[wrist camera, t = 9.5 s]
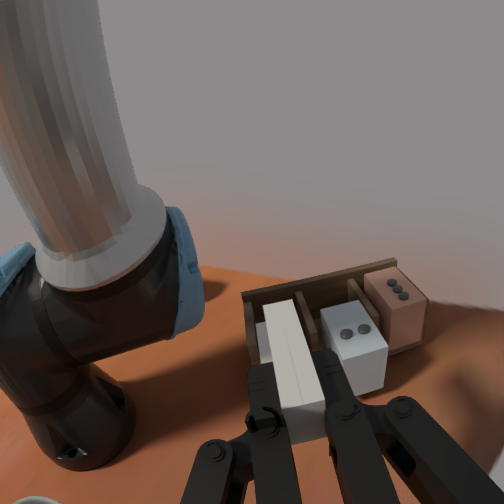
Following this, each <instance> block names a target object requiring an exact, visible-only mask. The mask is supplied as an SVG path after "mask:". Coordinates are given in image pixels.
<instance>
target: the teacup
mask: <svg viewBox="0 0 504 504" xmlns="http://www.w3.org/2000/svg"><path fill="white" fill-rule="evenodd" d="M13 504H61V503H60V502H57V501H55V500H53V499H50V498H46V497H42V496H29V497H24V498H22V499H19V500H17V501H16V502H14V503H13Z"/></svg>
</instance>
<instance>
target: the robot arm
mask: <svg viewBox="0 0 504 504" xmlns="http://www.w3.org/2000/svg"><path fill="white" fill-rule="evenodd" d="M0 165H1V167H2V169H3V171H4V173H5V176H6V178H7V180H8V182H9V184H10V186H11V188H12V190H13V192H14V194H15V196H16V198H17V200H18V202H19V203H20V205H21V207H22V209H23V211H24V213H25V214H26V216H27V218H28V220H29V221H30V223H31V225H32V227H33V228H34V230H35V232H36V233H37V235H38V237H39V240H38V244H37V247H36V250H35V248H34V247H33V246H32V245H31V244H30V243H29V242H24V243H23V244H20V245H18V246H16V247H14V248H13V249H11V250H10V251H8V252H7V253H5V254H4V255H2V256H1V257H0V387H1V389H2V390H3V391H4V392H5V394H6V395H7V396H8V397H9V398H10V399H11V401H12V402H13V403H14V404H15V405H16V407H17V408H18V409H19V410H20V411H21V412H22V414H23V416H24V418H25V420H26V422H27V424H28V426H29V428H30V430H31V432H32V434H33V436H34V438H35V440H36V442H37V444H38V445H39V447H40V448H41V450H42V451H43V452H44V453H45V454H46V455H47V456H48V457H49V458H50V459H51V460H52V461H54V462H55V463H56V464H57V465H59V466H61V467H63V468H65V469H68V470H74V471H85V470H90V469H94V468H97V467H99V466H102V465H103V464H105V463H107V462H109V461H110V460H111V459H113V458H114V457H115V456H116V455H117V454H118V453H119V452H120V451H121V450H122V449H123V448H124V447H125V445H126V444H127V442H128V441H129V439H130V437H131V435H132V432H133V430H134V426H135V420H136V412H135V407H134V404H133V401H132V400H131V398H130V397H129V395H128V394H127V392H126V391H125V389H124V388H123V387H122V386H121V384H120V383H118V382H117V381H116V380H115V379H113V378H112V377H111V376H109V375H108V374H107V373H105V372H104V371H103V370H102V369H100V368H99V367H98V366H96V365H95V364H94V363H93V362H95V361H99V360H102V359H105V358H108V357H112V356H115V355H118V354H121V353H124V352H127V351H131V350H134V349H137V348H140V347H143V346H146V345H150V344H153V343H156V342H159V341H162V340H170V339H173V338H174V337H175V336H176V335H178V334H180V333H183V332H185V331H187V330H190V329H192V328H194V327H196V326H197V325H198V324H199V323H200V322H201V320H202V318H203V316H204V311H205V298H204V289H203V282H202V277H201V272H200V270H199V268H198V266H197V265H198V261H197V254H196V250H195V246H194V242H193V239H192V235H191V232H190V229H189V226H188V224H187V221H186V219H185V217H184V215H183V213H182V212H181V210H180V209H179V208H177V207H167V206H164V203H163V201H162V199H161V198H160V197H159V195H158V194H157V193H156V192H155V191H153V190H152V189H150V188H148V187H145V186H143V185H139V184H138V183H137V180H136V176H135V173H134V169H133V166H132V163H131V159H130V155H129V152H128V148H127V144H126V140H125V137H124V133H123V129H122V125H121V121H120V117H119V113H118V109H117V104H116V100H115V96H114V91H113V87H112V82H111V77H110V73H109V68H108V63H107V57H106V52H105V47H104V41H103V35H102V29H101V23H100V16H99V9H98V2H97V0H0ZM263 309H264V315H265V320H266V326H267V331H268V337H269V342H270V348H271V353H272V359H273V362H268V363H262V364H257V365H252V366H251V367H250V370H249V372H248V374H247V378H248V390H249V402H250V411H249V412H248V414H247V415H246V419H245V423H246V425H247V428H248V430H247V431H246V432H245V433H244V434H243V435H241V436H239V437H237V438H235V439H232V440H230V441H228V442H226V441H224V440H220V439H213V440H210V441H207V442H205V443H204V444H203V445H201V446H200V448H199V450H198V452H197V455H196V458H195V461H194V464H193V467H192V470H191V473H190V476H189V479H188V482H187V485H186V488H185V491H184V494H183V497H182V500H181V503H180V504H244V499H245V495H246V490H247V485H248V482H249V481H252V480H254V484H255V494H256V504H302V499H301V493H300V488H299V483H298V478H297V473H296V467H295V462H294V457H293V453H292V448H291V445H293V444H298V443H302V442H307V441H311V440H316V439H320V438H324V437H328V440H329V456H331V457H332V460H333V464H334V468H335V472H336V475H337V479H338V483H339V486H340V490H341V494H342V498H343V502H344V504H400V501H399V499H398V496H397V493H396V490H395V488H394V485H393V482H392V479H391V477H390V474H389V471H388V469H387V466H386V464H385V461H384V458H383V456H384V457H385V458H386V460H387V461H388V462H389V463H390V465H391V466H392V467H393V469H394V470H395V471H396V472H397V474H398V475H399V476H400V478H401V479H402V480H403V481H404V483H405V484H406V485H407V487H408V488H409V489H410V490H411V492H412V493H413V494H414V496H415V497H416V498H417V499H418V501H419V502H420V503H421V504H504V492H503V491H502V490H501V489H500V488H499V487H498V486H497V485H496V484H495V483H494V482H493V481H492V479H491V478H490V477H489V476H488V475H487V474H486V473H485V472H484V471H483V470H482V469H481V468H480V467H479V466H478V465H477V464H476V463H475V461H474V460H473V459H472V458H471V457H470V456H469V455H468V454H467V453H466V452H465V451H464V450H463V449H462V448H461V447H460V446H459V445H458V444H457V443H456V442H455V441H454V439H453V438H452V437H451V436H450V435H449V434H448V433H447V432H446V431H445V430H444V429H443V428H442V427H441V426H440V425H439V424H438V423H437V422H436V421H435V420H434V419H433V418H432V417H431V416H430V415H429V414H428V413H427V412H426V410H425V409H424V408H423V407H422V406H421V405H420V404H419V403H418V402H417V401H416V400H414V399H413V398H411V397H407V396H398V397H396V398H393V399H392V400H391V401H389V402H388V404H387V405H376V406H373V405H366V404H363V403H361V402H360V401H359V400H358V399H356V397H355V395H354V393H353V391H352V388H351V386H350V383H349V381H348V379H347V376H346V374H345V371H344V369H343V367H342V364H341V362H340V360H339V357H338V355H337V354H336V353H335V352H334V351H333V350H332V349H330V348H326V349H322V350H318V351H314V352H309V349H308V346H307V343H306V340H305V337H304V334H303V331H302V328H301V325H300V322H299V319H298V316H297V313H296V310H295V307H294V304H293V301H292V299H291V300H286V301H281V302H277V303H272V304H267V305H263ZM382 454H383V456H382Z"/></svg>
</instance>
